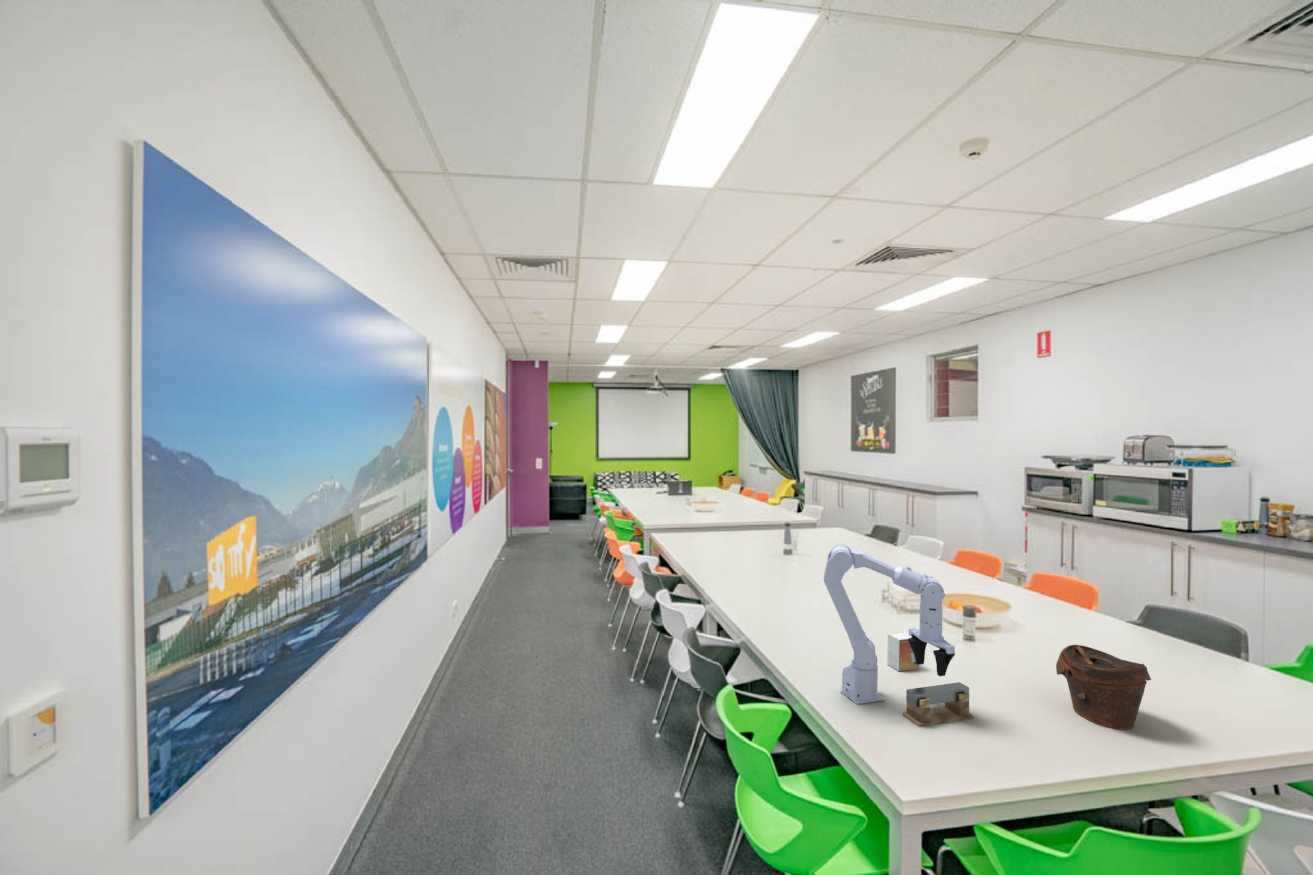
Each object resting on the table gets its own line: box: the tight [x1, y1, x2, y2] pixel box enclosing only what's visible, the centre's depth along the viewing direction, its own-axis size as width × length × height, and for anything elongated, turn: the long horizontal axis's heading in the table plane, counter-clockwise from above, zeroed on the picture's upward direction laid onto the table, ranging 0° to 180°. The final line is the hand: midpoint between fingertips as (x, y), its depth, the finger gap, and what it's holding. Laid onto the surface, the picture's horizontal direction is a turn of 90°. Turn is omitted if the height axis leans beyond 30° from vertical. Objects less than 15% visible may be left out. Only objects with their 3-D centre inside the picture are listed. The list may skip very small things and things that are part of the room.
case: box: [1055, 644, 1152, 730], centre depth 144 cm, size 18×20×18 cm
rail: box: [905, 681, 970, 707], centre depth 142 cm, size 18×3×3 cm, turn 106°
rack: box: [901, 692, 974, 728], centre depth 142 cm, size 18×6×6 cm, turn 106°
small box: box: [886, 631, 919, 672], centre depth 174 cm, size 8×6×10 cm
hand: (930, 669), depth 147 cm, fingers open, 7 cm apart
